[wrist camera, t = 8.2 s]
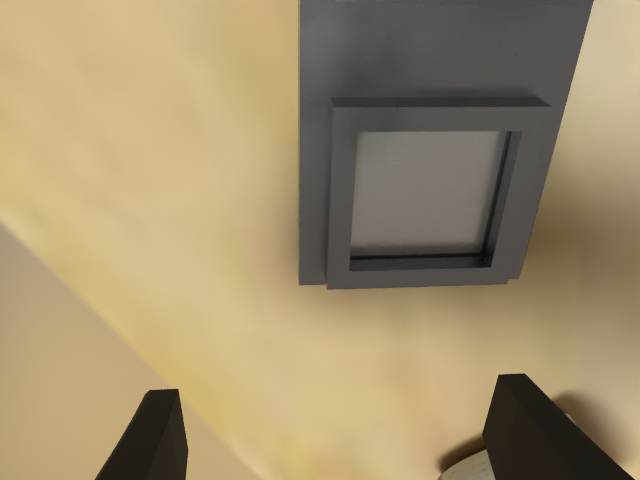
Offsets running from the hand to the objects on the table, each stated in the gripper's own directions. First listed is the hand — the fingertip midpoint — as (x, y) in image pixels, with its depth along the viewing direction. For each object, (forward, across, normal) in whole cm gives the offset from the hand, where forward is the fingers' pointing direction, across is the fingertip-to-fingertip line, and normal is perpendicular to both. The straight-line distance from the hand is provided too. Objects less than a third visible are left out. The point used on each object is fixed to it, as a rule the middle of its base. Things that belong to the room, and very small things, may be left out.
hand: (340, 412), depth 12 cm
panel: (+10, -4, -6) cm, 12 cm away
